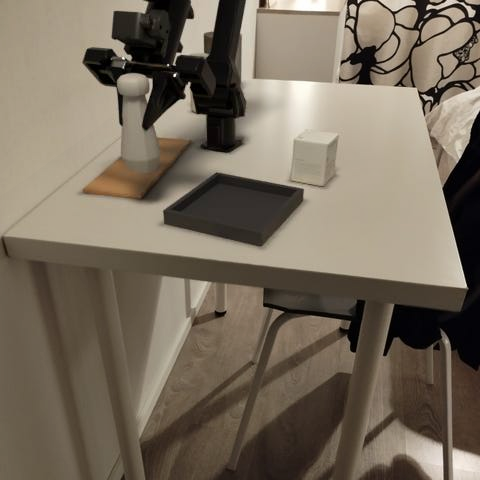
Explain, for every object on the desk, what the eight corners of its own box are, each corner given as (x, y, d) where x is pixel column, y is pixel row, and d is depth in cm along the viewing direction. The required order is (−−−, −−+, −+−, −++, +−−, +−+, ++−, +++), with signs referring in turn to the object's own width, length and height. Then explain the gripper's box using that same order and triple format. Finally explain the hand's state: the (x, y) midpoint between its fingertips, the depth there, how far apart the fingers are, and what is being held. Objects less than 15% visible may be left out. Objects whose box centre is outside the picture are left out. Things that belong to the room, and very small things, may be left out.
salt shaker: (117, 173, 76) (102, 78, 68) (131, 159, 81) (119, 69, 73) (154, 177, 75) (144, 81, 67) (167, 162, 80) (159, 71, 72)
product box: (323, 187, 87) (328, 143, 83) (289, 181, 89) (292, 138, 85) (334, 175, 91) (339, 133, 87) (302, 169, 94) (305, 128, 89)
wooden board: (144, 139, 107) (143, 136, 106) (190, 142, 105) (190, 139, 105) (82, 192, 85) (82, 189, 84) (140, 198, 83) (140, 195, 83)
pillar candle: (197, 93, 136) (194, 28, 127) (220, 86, 142) (219, 23, 133) (227, 99, 131) (226, 32, 122) (249, 91, 138) (250, 27, 129)
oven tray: (216, 184, 88) (216, 172, 87) (303, 201, 83) (304, 188, 81) (164, 223, 76) (162, 210, 75) (261, 246, 71) (261, 232, 69)
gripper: (77, -20, 69) (42, 87, 68) (204, -15, 64) (169, 102, 63) (117, 36, 80) (88, 130, 79) (229, 45, 75) (200, 146, 73)
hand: (132, 127), depth 73 cm, fingers closed on salt shaker, 3 cm apart
